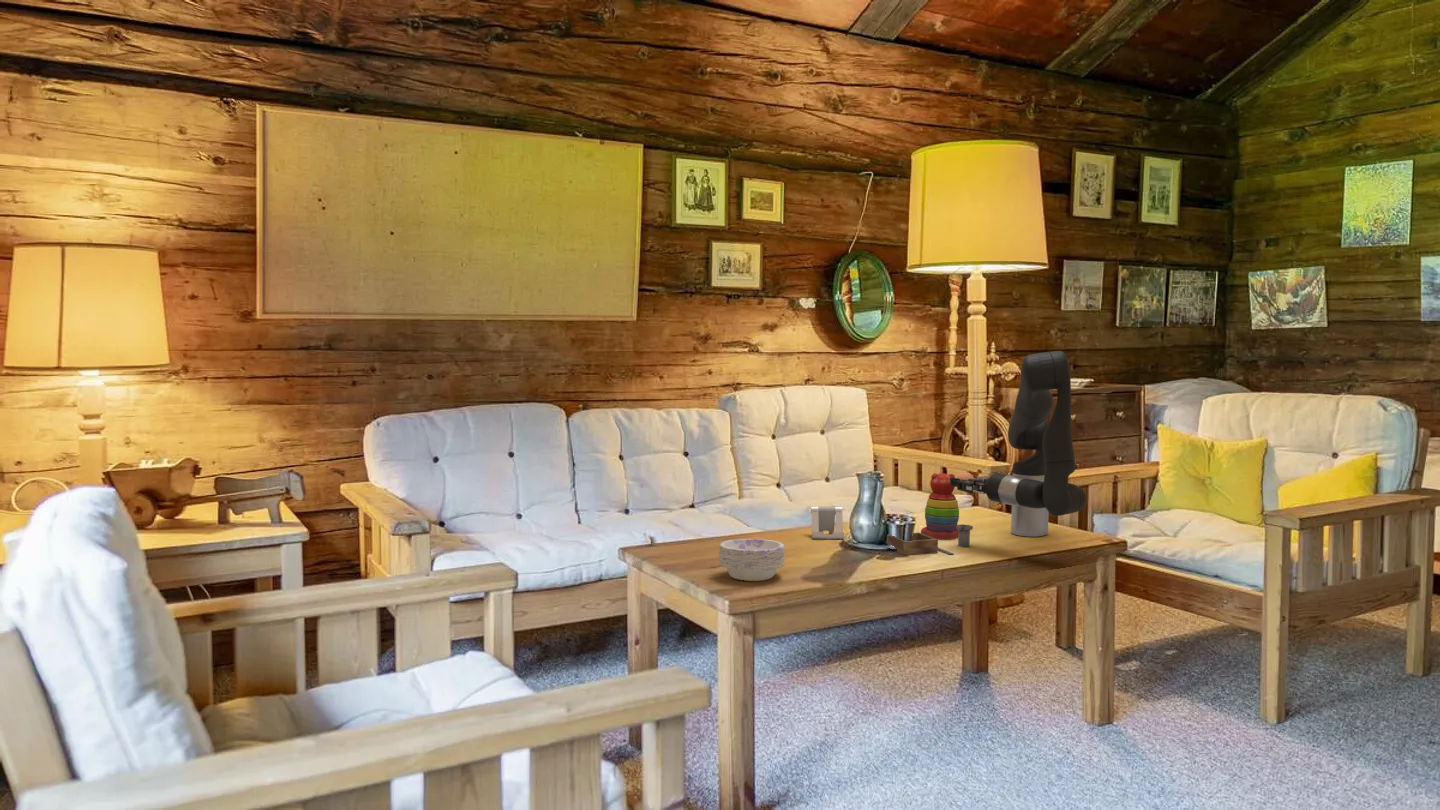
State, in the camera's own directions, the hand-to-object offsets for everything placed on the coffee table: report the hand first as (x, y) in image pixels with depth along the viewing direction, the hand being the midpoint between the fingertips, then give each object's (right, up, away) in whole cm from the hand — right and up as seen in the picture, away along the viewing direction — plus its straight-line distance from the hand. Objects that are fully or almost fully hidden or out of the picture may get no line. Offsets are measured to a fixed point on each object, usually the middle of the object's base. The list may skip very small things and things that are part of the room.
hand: (957, 480), depth 273 cm
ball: (+2, 0, -2) cm, 3 cm away
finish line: (-7, -18, -4) cm, 20 cm away
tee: (+1, -17, -1) cm, 17 cm away
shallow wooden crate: (-14, -18, -7) cm, 23 cm away
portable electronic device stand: (-34, -17, +10) cm, 39 cm away
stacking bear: (-2, -17, +12) cm, 20 cm away
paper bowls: (-56, -20, -36) cm, 70 cm away
